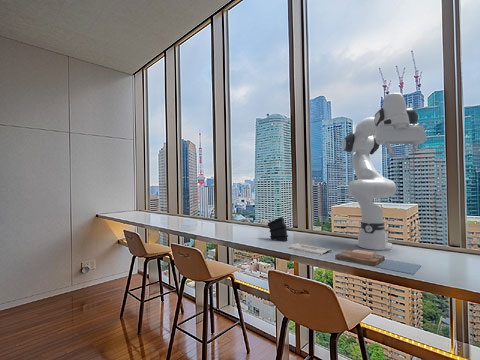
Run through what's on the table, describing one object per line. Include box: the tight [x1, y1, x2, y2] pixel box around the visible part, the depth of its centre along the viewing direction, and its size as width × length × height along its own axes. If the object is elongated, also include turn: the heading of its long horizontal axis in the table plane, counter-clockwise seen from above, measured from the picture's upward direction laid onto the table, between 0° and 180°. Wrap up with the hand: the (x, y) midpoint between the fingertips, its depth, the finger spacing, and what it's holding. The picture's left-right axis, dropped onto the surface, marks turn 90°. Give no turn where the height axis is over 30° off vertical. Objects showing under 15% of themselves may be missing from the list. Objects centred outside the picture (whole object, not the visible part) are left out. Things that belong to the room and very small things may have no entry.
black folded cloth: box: [267, 216, 289, 242], centre depth 175 cm, size 4×13×15 cm, turn 53°
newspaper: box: [286, 242, 333, 256], centre depth 150 cm, size 23×12×2 cm, turn 44°
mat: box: [375, 259, 422, 276], centre depth 117 cm, size 16×14×1 cm
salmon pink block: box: [351, 249, 376, 259], centre depth 127 cm, size 9×6×2 cm, turn 46°
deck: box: [334, 249, 386, 267], centre depth 129 cm, size 14×18×2 cm
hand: (403, 152), depth 117 cm, fingers open, 8 cm apart
